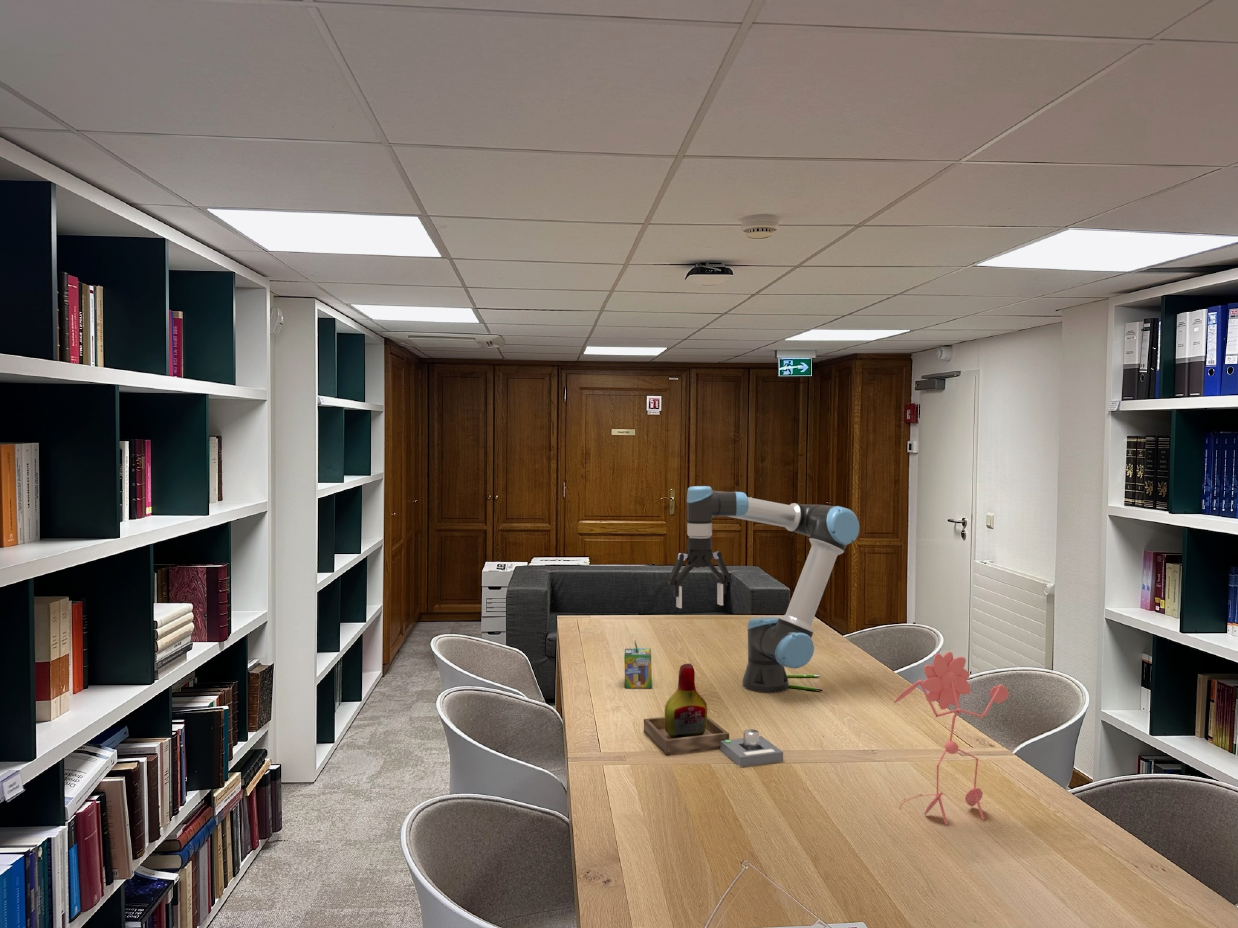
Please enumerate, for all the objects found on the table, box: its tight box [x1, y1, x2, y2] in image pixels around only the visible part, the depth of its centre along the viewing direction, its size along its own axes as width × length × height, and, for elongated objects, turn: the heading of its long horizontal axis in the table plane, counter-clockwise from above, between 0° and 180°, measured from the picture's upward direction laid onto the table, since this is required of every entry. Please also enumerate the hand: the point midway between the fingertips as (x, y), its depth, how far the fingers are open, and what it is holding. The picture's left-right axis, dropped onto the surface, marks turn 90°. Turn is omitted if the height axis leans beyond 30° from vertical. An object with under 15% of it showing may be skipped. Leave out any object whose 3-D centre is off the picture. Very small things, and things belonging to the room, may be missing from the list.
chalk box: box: [623, 640, 653, 689], centre depth 274 cm, size 9×9×15 cm
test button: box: [742, 729, 760, 751], centre depth 210 cm, size 4×4×4 cm
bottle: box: [663, 663, 708, 738], centre depth 222 cm, size 12×6×20 cm, turn 94°
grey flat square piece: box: [719, 735, 784, 768], centre depth 210 cm, size 12×12×3 cm
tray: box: [643, 715, 730, 756], centre depth 222 cm, size 18×18×4 cm
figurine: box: [893, 651, 1010, 826], centre depth 179 cm, size 15×26×35 cm, turn 104°
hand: (699, 606), depth 248 cm, fingers open, 13 cm apart
